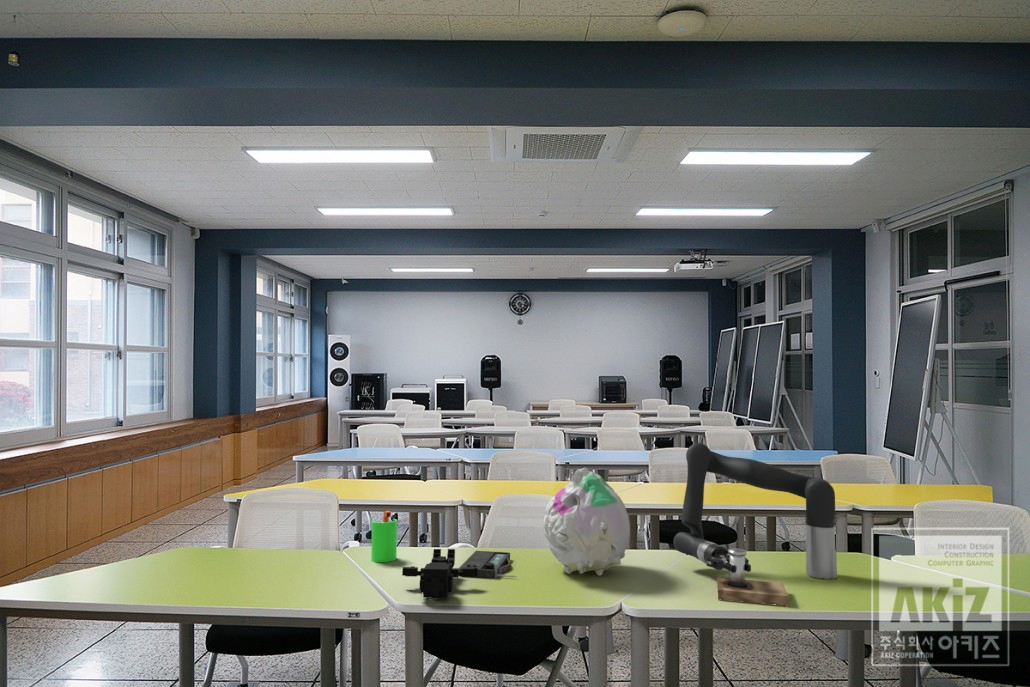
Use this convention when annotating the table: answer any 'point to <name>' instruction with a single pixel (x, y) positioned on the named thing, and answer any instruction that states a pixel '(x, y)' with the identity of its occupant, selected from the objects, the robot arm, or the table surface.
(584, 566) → the sculpture
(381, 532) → the green pencil cup
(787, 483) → the robot arm
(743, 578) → the silver metal peg
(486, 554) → the radio
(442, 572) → the toy
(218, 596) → the table surface
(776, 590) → the block
